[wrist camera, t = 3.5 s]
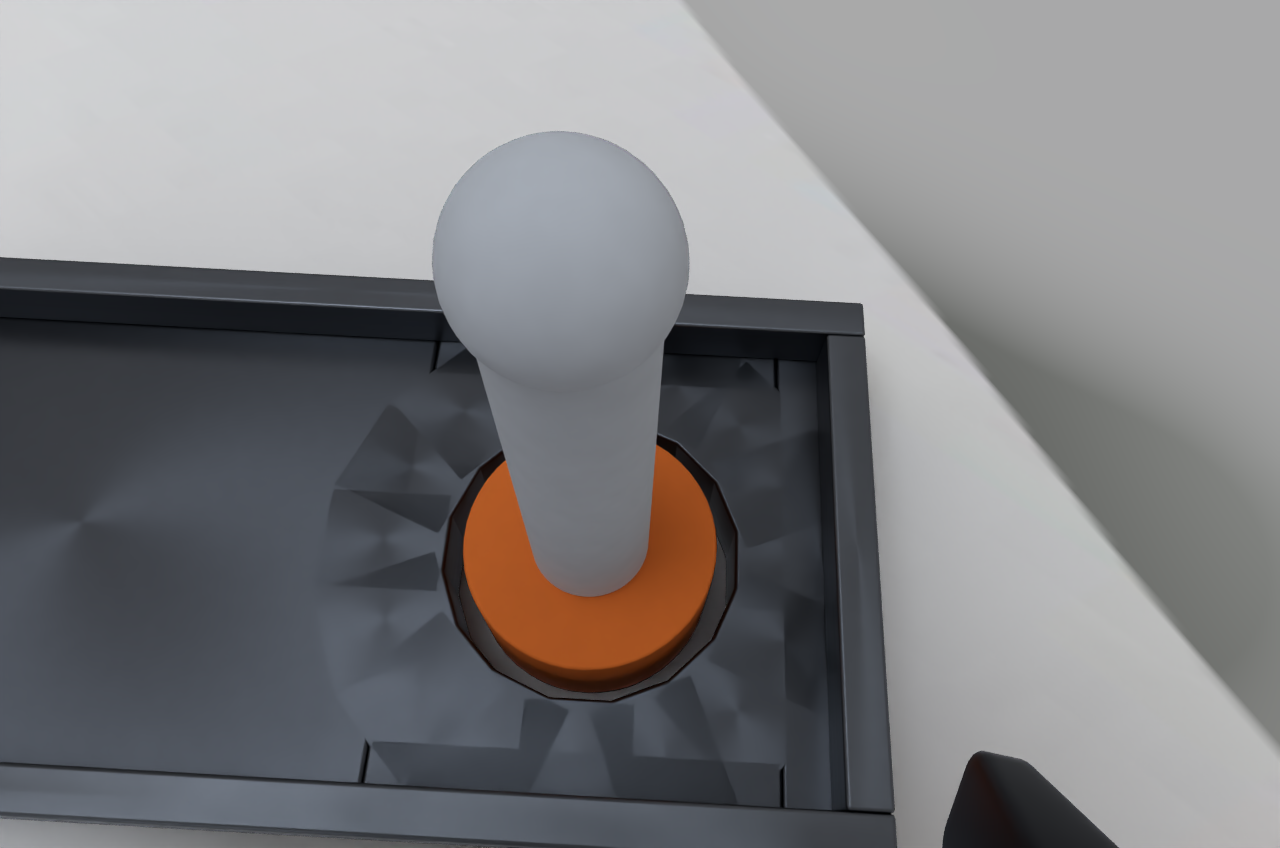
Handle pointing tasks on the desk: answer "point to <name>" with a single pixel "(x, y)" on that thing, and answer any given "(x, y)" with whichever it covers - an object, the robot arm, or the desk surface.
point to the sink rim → (535, 822)
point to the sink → (368, 572)
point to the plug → (575, 409)
